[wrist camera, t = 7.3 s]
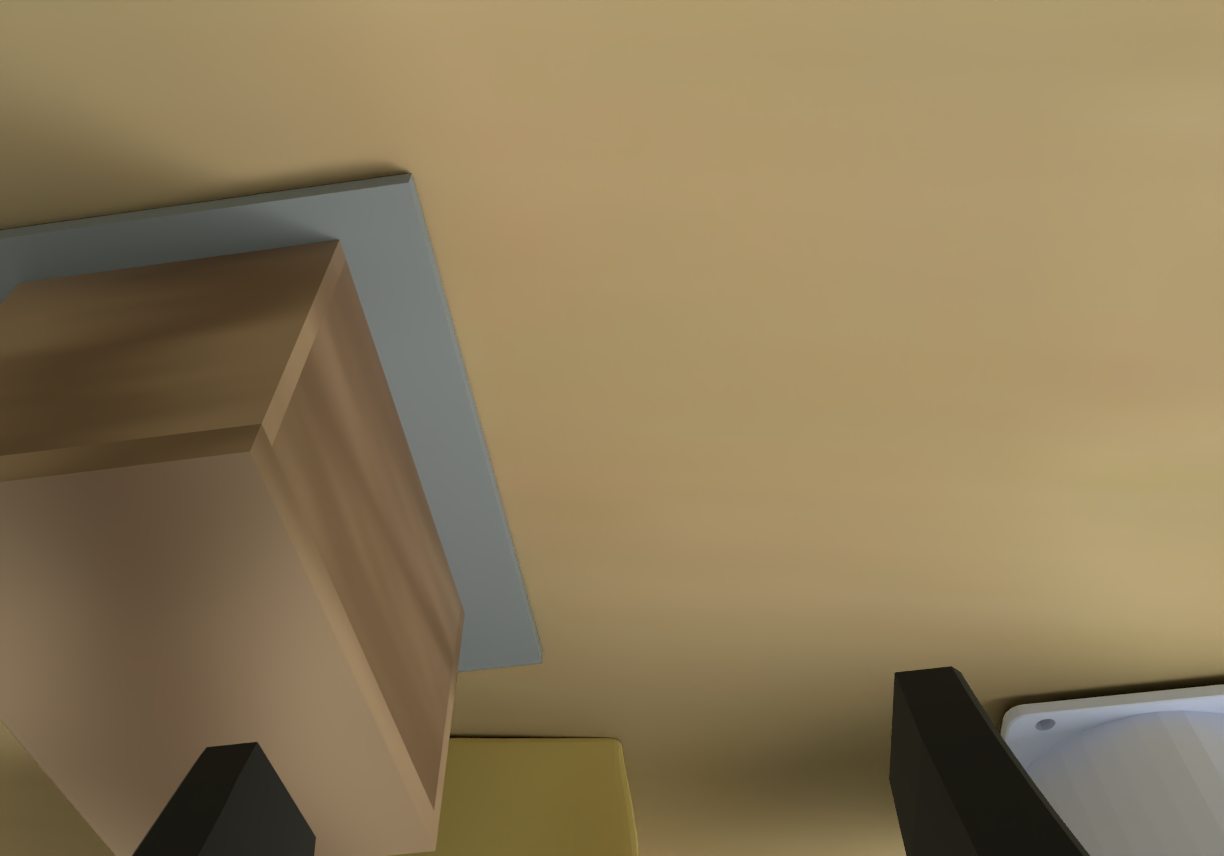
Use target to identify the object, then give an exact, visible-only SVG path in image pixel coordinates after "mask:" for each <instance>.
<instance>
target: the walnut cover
mask: <svg viewBox="0 0 1224 856" xmlns="http://www.w3.org/2000/svg"><path fill="white" fill-rule="evenodd" d="M464 616H465V613H464V610H463V607H462V604H461V601H460V598H459V595H458V592H457V589H456V586H455V583H454V580H453V577H452V574H451V571H450V568H449V565H448V562H447V559H446V556H445V553H444V550H443V547H442V544H441V541H440V538H439V535H438V532H437V529H436V526H435V523H434V520H433V517H432V514H431V511H430V508H429V505H428V502H427V499H426V496H425V493H424V490H423V487H422V484H421V481H420V478H419V475H418V472H417V469H416V466H415V463H414V460H413V458H412V455H411V452H410V449H409V446H408V443H407V440H406V437H405V434H404V431H403V428H402V425H401V422H400V419H399V416H398V413H397V410H396V407H395V404H394V401H393V398H392V395H391V392H390V389H389V386H388V383H387V380H386V377H385V374H384V371H383V368H382V365H381V362H380V359H379V356H378V353H377V350H376V347H375V344H374V341H373V338H372V335H371V332H370V329H369V326H368V323H367V320H366V317H365V314H364V311H363V308H362V305H361V302H360V299H359V296H358V293H357V290H356V287H355V284H354V282H353V279H352V276H351V273H350V270H349V267H348V264H347V261H346V258H345V255H344V252H343V249H342V246H341V243H340V240H333V241H326V242H318V243H311V244H304V245H296V246H289V247H281V248H274V249H267V250H259V251H252V252H244V253H237V254H230V255H222V256H215V257H207V258H200V259H193V260H185V261H178V262H170V263H163V264H156V265H148V266H141V267H133V268H126V269H119V270H111V271H104V272H96V273H89V274H82V275H74V276H67V277H59V278H52V279H45V280H37V281H30V282H22V283H19V284H18V285H17V286H16V287H15V288H14V289H13V290H12V291H11V292H10V294H9V295H8V296H7V297H6V298H5V299H4V300H3V301H2V302H1V303H0V720H1V721H2V723H3V724H4V725H5V726H6V727H7V729H8V730H9V731H10V732H11V733H12V734H13V736H14V737H15V738H16V739H17V740H18V742H19V743H20V744H21V745H22V746H23V747H24V749H25V750H26V751H27V752H28V753H29V754H30V756H31V757H32V758H33V759H34V760H35V762H36V763H37V764H38V765H39V766H40V767H41V769H42V770H43V771H44V772H45V773H46V775H47V776H48V777H49V778H50V779H51V780H52V782H53V783H54V784H55V785H56V786H57V787H58V789H59V790H60V791H61V792H62V793H63V795H64V796H65V797H66V798H67V799H68V800H69V802H70V803H71V804H72V805H73V806H74V808H75V809H76V810H77V811H78V812H79V813H80V815H81V816H82V817H83V818H84V819H85V821H86V822H87V823H88V824H89V825H90V826H91V828H92V829H93V830H94V831H95V832H96V833H97V835H98V836H99V837H100V838H101V839H102V841H103V842H104V843H105V844H106V845H107V846H108V848H109V849H110V850H111V851H112V852H113V854H114V855H115V856H132V855H133V853H134V852H135V850H136V849H137V847H138V846H139V844H140V843H141V842H142V840H143V839H144V837H145V836H146V834H147V833H148V831H149V830H150V828H151V827H152V825H153V824H154V822H155V821H156V819H157V818H158V816H159V815H160V813H161V812H162V810H163V809H164V807H165V806H166V805H167V803H168V802H169V800H170V799H171V797H172V796H173V794H174V793H175V791H176V790H177V788H178V787H179V785H180V784H181V782H182V781H183V779H184V778H185V776H186V775H187V774H188V772H189V771H190V769H191V768H192V766H193V765H194V763H195V762H196V760H197V759H198V758H199V756H200V755H201V753H202V752H203V751H204V750H205V748H206V747H213V746H222V745H232V744H241V743H250V742H258V743H259V745H260V747H261V748H262V750H263V752H264V753H265V755H266V756H267V758H268V760H269V761H270V763H271V765H272V766H273V768H274V769H275V771H276V773H277V774H278V776H279V778H280V779H281V781H282V783H283V784H284V786H285V787H286V789H287V791H288V792H289V794H290V796H291V797H292V799H293V800H294V802H295V804H296V805H297V807H298V809H299V810H300V812H301V813H302V815H303V817H304V818H305V820H306V822H307V823H308V825H309V827H310V828H311V830H312V831H313V833H314V835H315V836H316V843H315V852H314V856H388V855H399V854H409V853H420V852H430V851H435V850H436V842H437V834H438V826H439V818H440V810H441V802H442V794H443V786H444V778H445V769H446V761H447V753H448V745H449V737H450V729H451V721H452V713H453V705H454V697H455V689H456V681H457V673H458V665H459V656H460V648H461V640H462V632H463V624H464Z"/></svg>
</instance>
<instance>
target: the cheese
mask: <svg viewBox="0 0 1224 856" xmlns="http://www.w3.org/2000/svg"><path fill="white" fill-rule="evenodd" d="M388 856H639V849H638V839H637V831H636V823H635V816H634V810H633V804H632V799H631V794H630V788H629V783H628V778H627V773H626V767H625V762H624V756H623V748H622V744H621V743H620V742H619V741H618V740H617V739H614V738H449V745H448V753H447V761H446V769H445V778H444V786H443V794H442V802H441V810H440V818H439V826H438V834H437V842H436V850H435V851H430V852H420V853H409V854H399V855H388Z"/></svg>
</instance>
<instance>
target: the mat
mask: <svg viewBox="0 0 1224 856" xmlns="http://www.w3.org/2000/svg"><path fill="white" fill-rule="evenodd" d="M333 240H340V243H341V246H342V249H343V252H344V255H345V258H346V261H347V264H348V267H349V270H350V273H351V276H352V279H353V282H354V284H355V287H356V290H357V293H358V296H359V299H360V302H361V305H362V308H363V311H364V314H365V317H366V320H367V323H368V326H369V329H370V332H371V335H372V338H373V341H374V344H375V347H376V350H377V353H378V356H379V359H380V362H381V365H382V368H383V371H384V374H385V377H386V380H387V383H388V386H389V389H390V392H391V395H392V398H393V401H394V404H395V407H396V410H397V413H398V416H399V419H400V422H401V425H402V428H403V431H404V434H405V437H406V440H407V443H408V446H409V449H410V452H411V455H412V458H413V460H414V463H415V466H416V469H417V472H418V475H419V478H420V481H421V484H422V487H423V490H424V493H425V496H426V499H427V502H428V505H429V508H430V511H431V514H432V517H433V520H434V523H435V526H436V529H437V532H438V535H439V538H440V541H441V544H442V547H443V550H444V553H445V556H446V559H447V562H448V565H449V568H450V571H451V574H452V577H453V580H454V583H455V586H456V589H457V592H458V595H459V598H460V601H461V604H462V607H463V610H464V613H465V616H464V624H463V632H462V640H461V648H460V656H459V665H458V672H465V671H474V670H484V669H493V668H503V667H512V666H521V665H531V664H540V663H542V648H541V644H540V641H539V637H538V633H537V630H536V626H535V622H534V619H533V615H532V611H531V608H530V604H529V600H528V597H527V593H526V589H525V586H524V582H523V578H522V575H521V571H520V567H519V564H518V560H517V556H516V553H515V549H514V545H513V542H512V538H511V534H510V531H509V527H508V523H507V520H506V516H505V512H504V509H503V505H502V501H501V498H500V494H499V490H498V487H497V483H496V479H495V476H494V472H493V468H492V465H491V461H490V457H489V454H488V450H487V446H486V443H485V439H484V436H483V432H482V428H481V425H480V421H479V417H478V414H477V410H476V406H475V403H474V399H473V395H472V392H471V388H470V384H469V381H468V377H467V373H466V370H465V366H464V362H463V359H462V355H461V351H460V348H459V344H458V340H457V337H456V333H455V329H454V326H453V322H452V318H451V315H450V311H449V307H448V304H447V300H446V296H445V293H444V289H443V285H442V282H441V278H440V274H439V271H438V267H437V263H436V260H435V256H434V252H433V249H432V245H431V241H430V238H429V234H428V230H427V227H426V223H425V220H424V216H423V212H422V209H421V205H420V201H419V198H418V194H417V190H416V187H415V183H414V179H413V176H412V173H409V174H401V175H394V176H387V177H380V178H373V179H365V180H358V181H351V182H344V183H337V184H329V185H322V186H315V187H308V188H301V189H293V190H286V191H279V192H272V193H265V194H257V195H250V196H243V197H236V198H229V199H221V200H214V201H207V202H200V203H193V204H185V205H178V206H171V207H164V208H157V209H150V210H142V211H135V212H128V213H121V214H114V215H106V216H99V217H92V218H85V219H78V220H70V221H63V222H56V223H49V224H42V225H34V226H27V227H20V228H13V229H6V230H0V303H1V302H2V301H3V300H4V299H5V298H6V297H7V296H8V295H9V294H10V292H11V291H12V290H13V289H14V288H15V287H16V286H17V285H18V284H19V283H22V282H30V281H37V280H45V279H52V278H59V277H67V276H74V275H82V274H89V273H96V272H104V271H111V270H119V269H126V268H133V267H141V266H148V265H156V264H163V263H170V262H178V261H185V260H193V259H200V258H207V257H215V256H222V255H230V254H237V253H244V252H252V251H259V250H267V249H274V248H281V247H289V246H296V245H304V244H311V243H318V242H326V241H333Z"/></svg>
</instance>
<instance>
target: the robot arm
mask: <svg viewBox="0 0 1224 856" xmlns="http://www.w3.org/2000/svg"><path fill="white" fill-rule="evenodd" d="M889 780H890V784H891V789H892V793H893V798H894V802H895V807H896V811H897V816H898V820H899V825H900V829H901V834H902V838H903V842H904V847H905V851H906V855H907V856H1224V684H1221V685H1211V686H1201V687H1191V688H1181V689H1171V690H1161V691H1151V692H1141V693H1131V694H1121V695H1111V696H1101V697H1091V698H1081V699H1071V700H1061V701H1051V702H1041V703H1031V704H1022V705H1018V706H1015V707H1013V708H1011V709H1010V710H1008V711H1007V712H1006V713H1005V715H1004V717H1003V723H1002V728H1001V734H1000V733H999V732H998V730H997V729H996V727H995V726H994V724H993V723H992V721H991V720H990V718H989V717H988V715H987V714H986V712H985V711H984V709H983V708H982V706H981V704H980V703H979V701H978V700H977V698H976V697H975V695H974V693H973V692H972V690H971V689H970V687H969V685H968V684H967V682H966V680H965V679H964V677H963V675H962V674H961V672H959V671H958V670H956V669H955V668H953V667H952V666H951V667H942V668H933V669H924V670H914V671H905V672H896V673H895V677H894V697H893V717H892V737H891V757H890V777H889ZM315 843H316V836H315V835H314V833H313V831H312V830H311V828H310V827H309V825H308V823H307V822H306V820H305V818H304V817H303V815H302V813H301V812H300V810H299V809H298V807H297V805H296V804H295V802H294V800H293V799H292V797H291V796H290V794H289V792H288V791H287V789H286V787H285V786H284V784H283V783H282V781H281V779H280V778H279V776H278V774H277V773H276V771H275V769H274V768H273V766H272V765H271V763H270V761H269V760H268V758H267V756H266V755H265V753H264V752H263V750H262V748H261V747H260V745H259V743H258V742H250V743H241V744H232V745H222V746H213V747H206V748H205V750H204V751H203V752H202V753H201V755H200V756H199V758H198V759H197V760H196V762H195V763H194V765H193V766H192V768H191V769H190V771H189V772H188V774H187V775H186V776H185V778H184V779H183V781H182V782H181V784H180V785H179V787H178V788H177V790H176V791H175V793H174V794H173V796H172V797H171V799H170V800H169V802H168V803H167V805H166V806H165V807H164V809H163V810H162V812H161V813H160V815H159V816H158V818H157V819H156V821H155V822H154V824H153V825H152V827H151V828H150V830H149V831H148V833H147V834H146V836H145V837H144V839H143V840H142V842H141V843H140V844H139V846H138V847H137V849H136V850H135V852H134V853H133V855H132V856H314V852H315Z"/></svg>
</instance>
